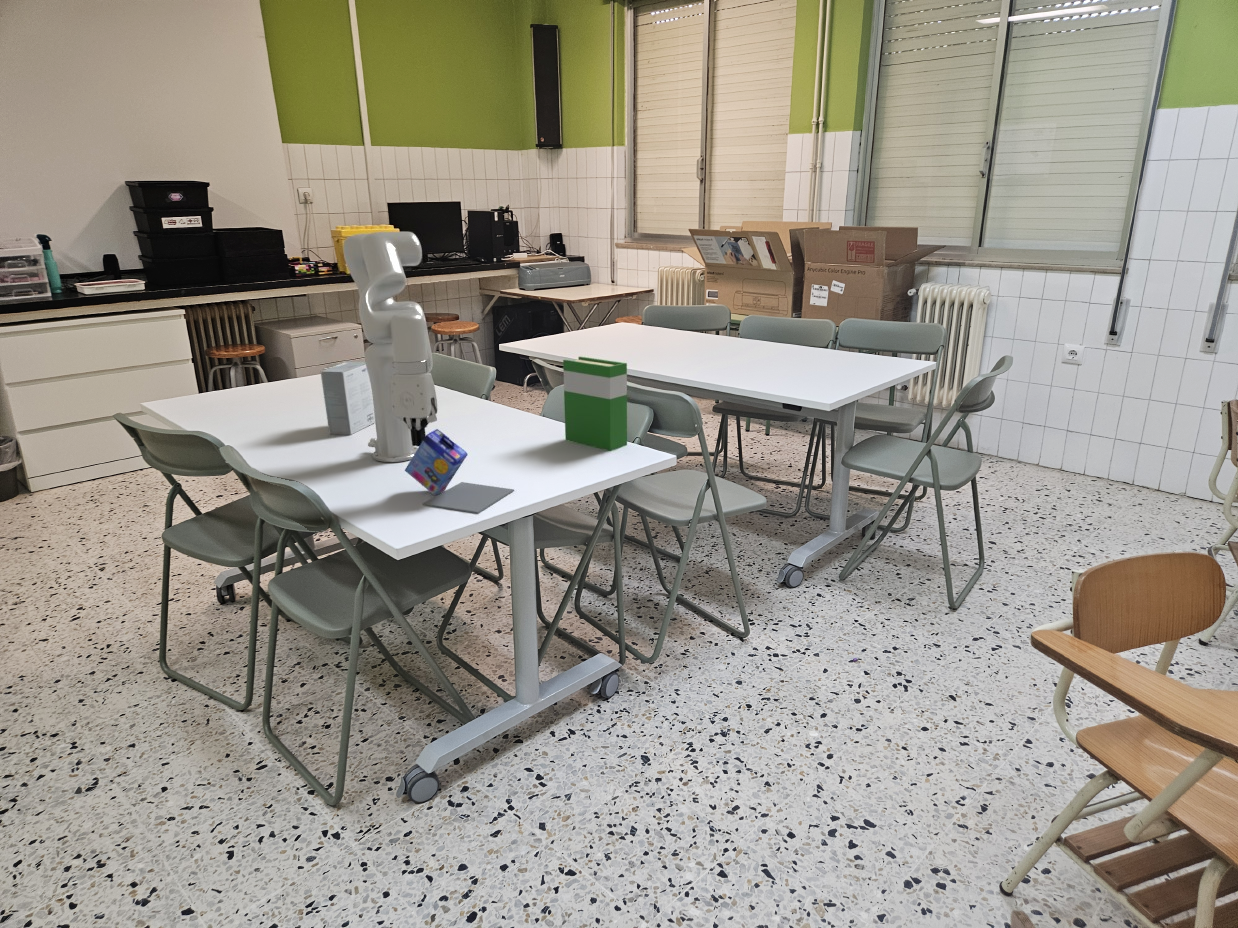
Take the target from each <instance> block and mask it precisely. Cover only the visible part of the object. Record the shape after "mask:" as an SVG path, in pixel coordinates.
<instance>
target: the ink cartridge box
mask: <svg viewBox="0 0 1238 928" xmlns="http://www.w3.org/2000/svg"><path fill="white" fill-rule="evenodd" d="M417 448H418V449H417V451H416V453H415V454H414V456H413V458H412V459H410V460H409V463H407V466H405V467H406V468H405V469H404V472H406V473H407V474H408V475H409V476H411V477H412V478H413V479H414V480H415V481H416V482H417V483H419V484H420V485H421V486H422V487H424V488H425V489H426V490H427V491H428V492H429V493H430V494H432V495H433V496H437V495H439V494H441V493H442V492H444V491H446V490H447V488H448V486H449V485H450V483H451V482H452V479H453V478H454V476H455V475H456V473H457V472H458V470H459V469H460V467H461V465H462V464H463V462H464V461H465V459H466V458H467V456H468V452H467V451H466V450H464V449H463V448H462V447H460V446H459V445H458V444H457V443H455V442H454V441H453V440H452V439H450V437H448V436H447V435H446V434H444V432H442V431H441V430H439V429H438V428H436V429H434V430H432V431H431V432H429V433H427V434H426V436H425V438H424V440H423V441H422V443H421V444H420V446H418V447H417Z"/></svg>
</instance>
